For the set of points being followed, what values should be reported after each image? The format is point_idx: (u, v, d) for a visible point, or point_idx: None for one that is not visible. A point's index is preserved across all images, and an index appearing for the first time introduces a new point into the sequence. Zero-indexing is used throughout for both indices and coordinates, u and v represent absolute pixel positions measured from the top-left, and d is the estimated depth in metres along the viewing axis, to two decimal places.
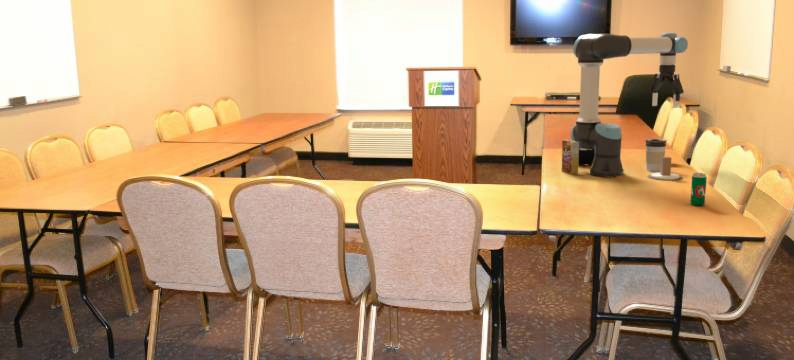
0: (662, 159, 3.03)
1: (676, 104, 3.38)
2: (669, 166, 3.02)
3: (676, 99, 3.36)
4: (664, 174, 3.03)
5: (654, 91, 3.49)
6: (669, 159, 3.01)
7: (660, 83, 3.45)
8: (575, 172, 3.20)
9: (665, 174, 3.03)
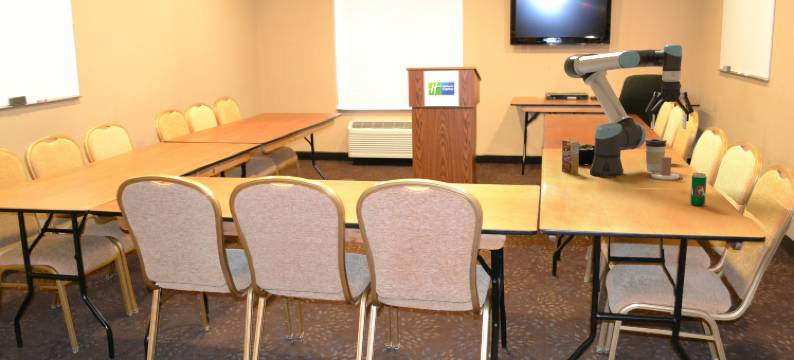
0: (662, 159, 3.03)
1: (651, 125, 3.01)
2: (669, 166, 3.02)
3: None
4: (664, 174, 3.03)
5: (685, 112, 2.99)
6: (669, 159, 3.01)
7: (676, 102, 2.99)
8: (575, 172, 3.20)
9: (665, 174, 3.03)
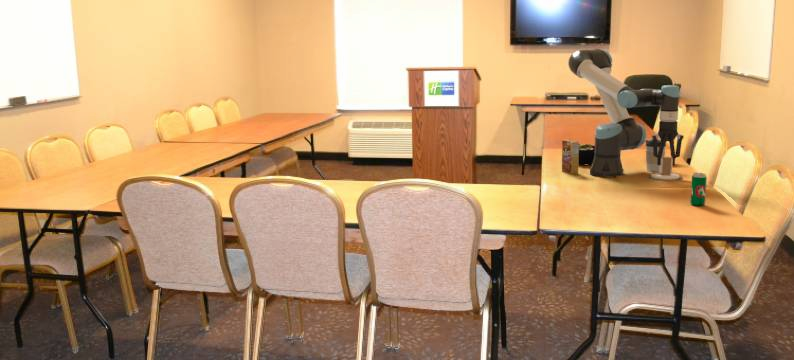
0: None
1: (659, 169, 3.04)
2: (669, 166, 3.02)
3: None
4: (664, 174, 3.03)
5: (672, 155, 3.03)
6: (669, 159, 3.01)
7: None
8: (575, 172, 3.20)
9: (665, 174, 3.03)
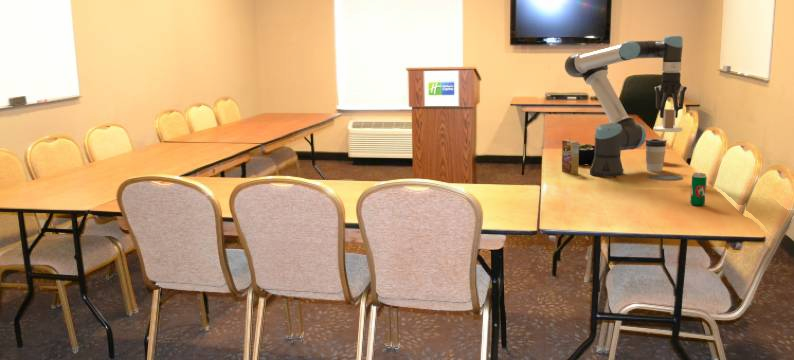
0: None
1: (662, 121, 3.00)
2: (672, 118, 2.98)
3: None
4: (667, 127, 2.99)
5: (675, 108, 2.99)
6: (672, 111, 2.97)
7: (672, 95, 2.98)
8: (575, 172, 3.20)
9: (668, 127, 2.99)
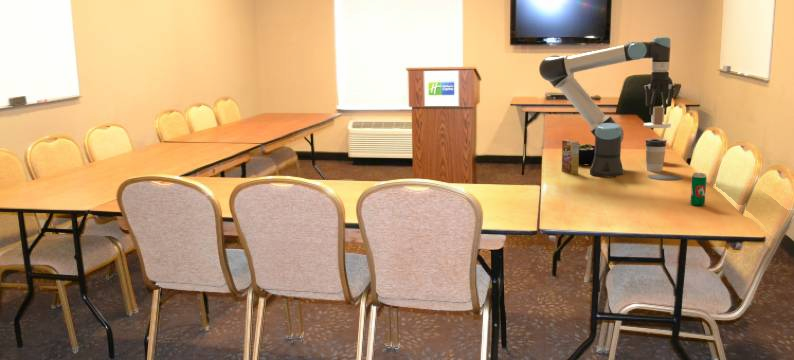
0: None
1: (652, 118, 3.17)
2: (661, 115, 3.15)
3: None
4: (656, 123, 3.16)
5: (663, 105, 3.16)
6: (660, 108, 3.14)
7: (661, 93, 3.15)
8: (575, 172, 3.20)
9: (657, 123, 3.16)
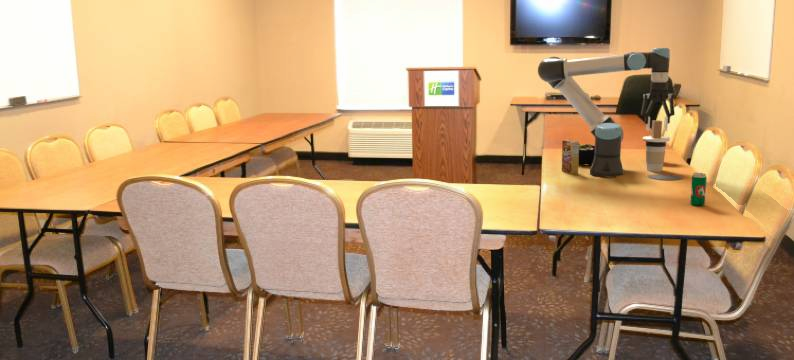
0: (653, 122, 3.17)
1: (647, 127, 3.18)
2: (660, 129, 3.16)
3: None
4: (655, 137, 3.17)
5: (667, 114, 3.17)
6: (659, 122, 3.16)
7: (662, 103, 3.16)
8: (575, 172, 3.20)
9: (656, 137, 3.17)
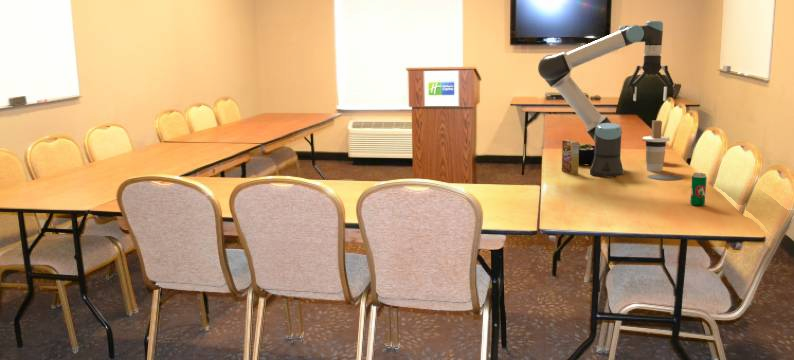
0: (653, 122, 3.17)
1: (634, 97, 3.20)
2: (660, 129, 3.16)
3: None
4: (655, 137, 3.17)
5: (666, 85, 3.17)
6: (659, 122, 3.16)
7: (658, 75, 3.17)
8: (575, 172, 3.20)
9: (656, 137, 3.17)
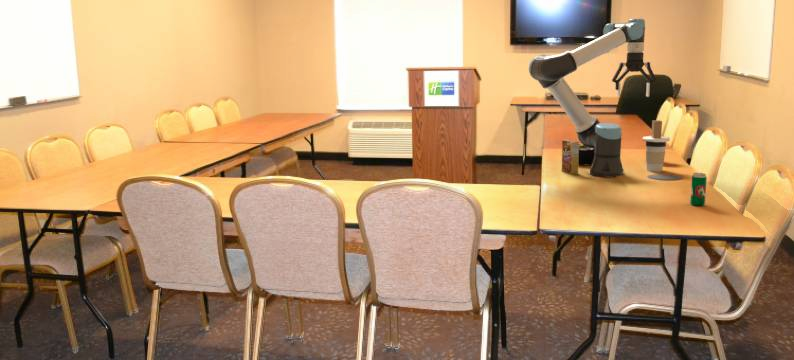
0: (653, 122, 3.17)
1: (618, 93, 3.27)
2: (660, 129, 3.16)
3: None
4: (655, 137, 3.17)
5: (648, 81, 3.25)
6: (659, 122, 3.16)
7: None
8: (575, 172, 3.20)
9: (656, 137, 3.17)
